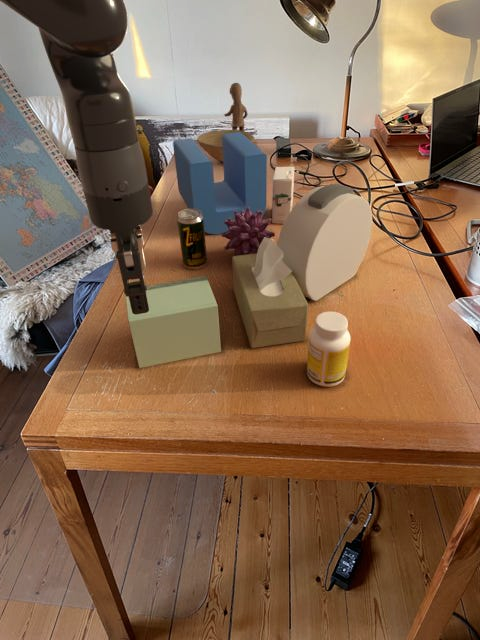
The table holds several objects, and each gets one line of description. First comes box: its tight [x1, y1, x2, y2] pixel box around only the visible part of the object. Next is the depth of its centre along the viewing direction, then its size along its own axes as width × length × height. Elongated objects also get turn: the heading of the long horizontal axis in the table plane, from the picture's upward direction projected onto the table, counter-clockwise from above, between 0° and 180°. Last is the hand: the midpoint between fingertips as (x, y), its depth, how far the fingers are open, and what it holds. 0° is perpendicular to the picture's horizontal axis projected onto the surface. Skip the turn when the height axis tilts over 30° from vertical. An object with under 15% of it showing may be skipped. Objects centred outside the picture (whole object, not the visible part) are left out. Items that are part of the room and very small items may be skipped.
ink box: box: [271, 166, 295, 225], centre depth 115 cm, size 9×5×12 cm, turn 172°
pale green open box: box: [124, 275, 222, 369], centre depth 78 cm, size 14×9×10 cm, turn 105°
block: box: [172, 132, 268, 235], centre depth 114 cm, size 18×18×18 cm
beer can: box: [177, 208, 208, 270], centre depth 98 cm, size 5×5×12 cm
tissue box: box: [231, 237, 309, 349], centre depth 82 cm, size 19×10×16 cm, turn 10°
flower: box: [220, 206, 276, 256], centre depth 100 cm, size 12×12×12 cm
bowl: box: [196, 129, 255, 162], centre depth 149 cm, size 18×18×8 cm
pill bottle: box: [306, 311, 351, 388], centre depth 70 cm, size 6×6×11 cm
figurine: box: [223, 82, 248, 131], centre depth 159 cm, size 9×8×20 cm
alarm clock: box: [276, 183, 373, 302], centre depth 88 cm, size 21×8×20 cm, turn 135°
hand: (138, 294), depth 63 cm, fingers open, 8 cm apart
